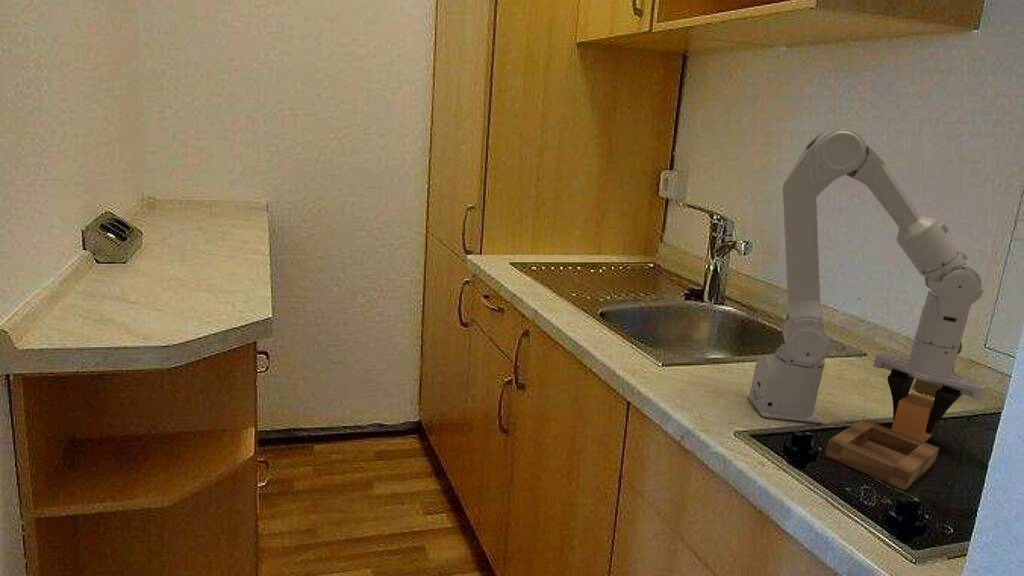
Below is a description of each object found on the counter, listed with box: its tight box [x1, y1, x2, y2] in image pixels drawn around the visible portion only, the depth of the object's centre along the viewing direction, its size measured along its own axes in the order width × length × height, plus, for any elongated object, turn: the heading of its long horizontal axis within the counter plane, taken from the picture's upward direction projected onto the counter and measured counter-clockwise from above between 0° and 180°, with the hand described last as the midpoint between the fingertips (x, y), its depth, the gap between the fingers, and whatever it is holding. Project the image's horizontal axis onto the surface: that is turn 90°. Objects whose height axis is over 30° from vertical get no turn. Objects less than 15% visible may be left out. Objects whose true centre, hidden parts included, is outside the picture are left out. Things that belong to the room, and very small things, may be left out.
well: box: [824, 418, 940, 491], centre depth 98 cm, size 12×10×2 cm
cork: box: [912, 341, 963, 398], centre depth 126 cm, size 6×6×11 cm
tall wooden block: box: [890, 392, 934, 443], centre depth 106 cm, size 6×4×6 cm, turn 134°
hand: (913, 425), depth 106 cm, fingers closed on tall wooden block, 4 cm apart
